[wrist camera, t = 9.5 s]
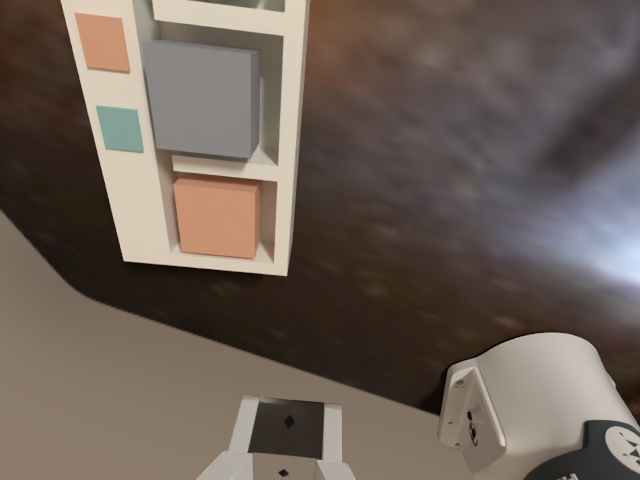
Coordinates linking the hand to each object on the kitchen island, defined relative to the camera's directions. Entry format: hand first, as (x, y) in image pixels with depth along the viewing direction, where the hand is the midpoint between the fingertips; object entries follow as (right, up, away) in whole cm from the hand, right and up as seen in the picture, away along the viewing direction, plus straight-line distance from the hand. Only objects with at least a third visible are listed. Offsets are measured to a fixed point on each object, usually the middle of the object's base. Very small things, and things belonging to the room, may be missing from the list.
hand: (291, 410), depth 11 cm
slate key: (-5, +14, +10) cm, 18 cm away
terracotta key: (-6, +8, +15) cm, 18 cm away
